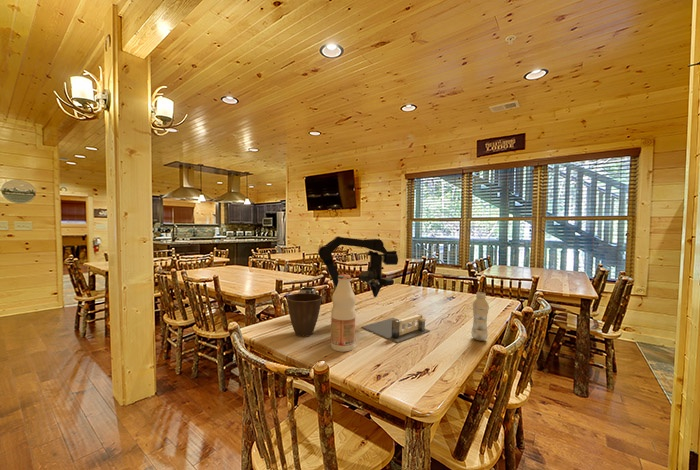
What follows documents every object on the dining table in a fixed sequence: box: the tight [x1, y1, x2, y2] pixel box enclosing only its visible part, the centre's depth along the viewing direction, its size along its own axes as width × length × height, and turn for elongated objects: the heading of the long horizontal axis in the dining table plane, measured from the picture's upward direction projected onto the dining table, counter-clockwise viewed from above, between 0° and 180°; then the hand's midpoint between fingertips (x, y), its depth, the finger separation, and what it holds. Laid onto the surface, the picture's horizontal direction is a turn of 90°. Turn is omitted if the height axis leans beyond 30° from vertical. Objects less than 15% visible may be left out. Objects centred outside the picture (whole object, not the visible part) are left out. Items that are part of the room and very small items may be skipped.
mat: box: [361, 317, 430, 344], centre depth 132 cm, size 22×22×1 cm
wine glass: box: [299, 286, 316, 294], centre depth 145 cm, size 8×8×15 cm
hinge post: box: [391, 319, 400, 339], centre depth 121 cm, size 3×3×8 cm
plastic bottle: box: [470, 291, 490, 342], centre depth 122 cm, size 6×7×20 cm
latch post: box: [418, 317, 427, 332], centre depth 130 cm, size 2×2×6 cm
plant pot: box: [286, 292, 322, 338], centre depth 125 cm, size 15×15×16 cm
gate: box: [398, 313, 423, 336], centre depth 128 cm, size 16×2×6 cm, turn 129°
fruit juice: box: [330, 274, 357, 353], centre depth 111 cm, size 9×9×28 cm
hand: (375, 296), depth 139 cm, fingers closed
